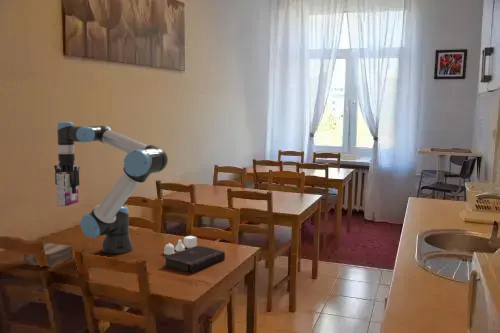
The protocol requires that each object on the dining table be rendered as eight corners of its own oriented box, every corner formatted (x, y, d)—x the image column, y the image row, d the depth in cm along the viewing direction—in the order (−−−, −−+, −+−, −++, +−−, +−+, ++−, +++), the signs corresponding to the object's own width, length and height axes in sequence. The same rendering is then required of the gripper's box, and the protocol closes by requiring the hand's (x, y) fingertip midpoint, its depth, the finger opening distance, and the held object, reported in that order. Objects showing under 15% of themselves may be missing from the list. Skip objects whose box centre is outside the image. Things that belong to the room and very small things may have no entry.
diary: (225, 261, 230) (225, 250, 230) (192, 275, 209) (192, 264, 209) (195, 254, 240) (195, 244, 240) (161, 267, 219) (161, 256, 219)
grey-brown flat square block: (72, 258, 230) (72, 245, 229) (51, 267, 216) (50, 254, 215) (47, 254, 234) (46, 243, 234) (24, 263, 220) (23, 251, 220)
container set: (190, 245, 255) (190, 235, 254) (197, 247, 252) (197, 237, 251) (161, 253, 239) (161, 243, 239) (168, 255, 236) (168, 245, 235)
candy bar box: (70, 201, 244) (69, 170, 242) (78, 202, 243) (78, 170, 241) (56, 205, 233) (55, 172, 231) (65, 206, 232) (64, 173, 230)
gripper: (86, 153, 235) (87, 199, 238) (56, 151, 241) (58, 197, 244) (76, 154, 228) (78, 202, 231) (45, 153, 234) (47, 199, 237)
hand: (67, 199), depth 237 cm, fingers closed on candy bar box, 5 cm apart
